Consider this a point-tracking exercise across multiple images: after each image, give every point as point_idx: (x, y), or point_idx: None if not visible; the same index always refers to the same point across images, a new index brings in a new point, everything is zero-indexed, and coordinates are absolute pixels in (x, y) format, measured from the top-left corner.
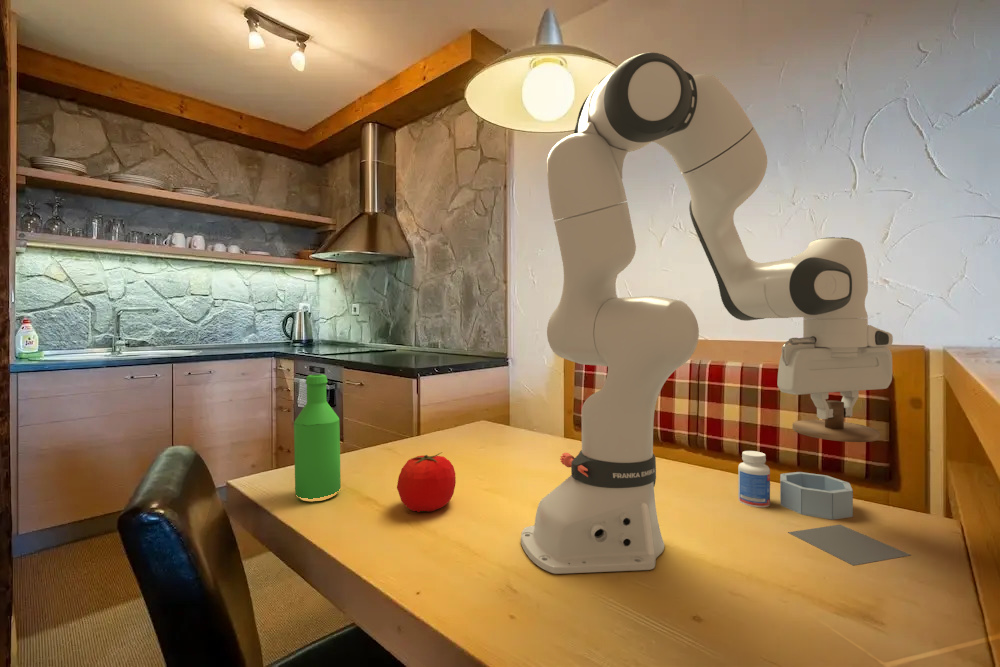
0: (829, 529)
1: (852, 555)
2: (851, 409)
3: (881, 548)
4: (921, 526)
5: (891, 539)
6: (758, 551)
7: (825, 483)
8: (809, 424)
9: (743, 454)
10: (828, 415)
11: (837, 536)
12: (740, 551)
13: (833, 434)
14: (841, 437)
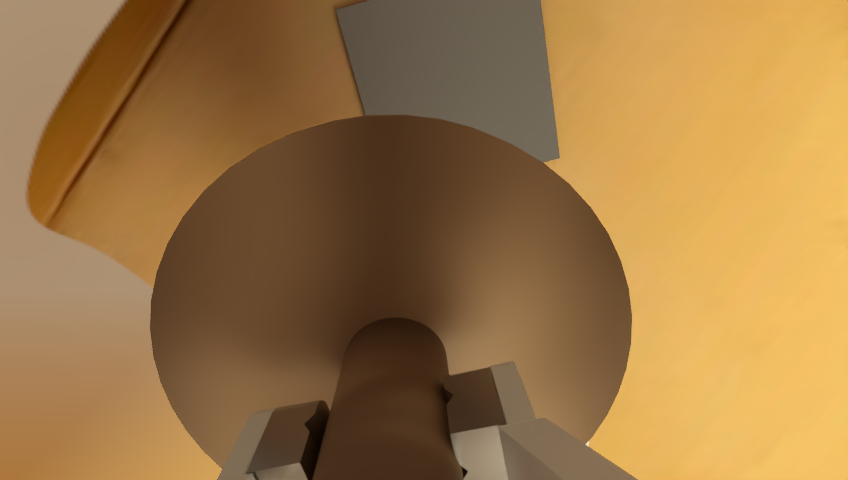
0: None
1: (493, 13)
2: (238, 457)
3: (386, 51)
4: (175, 193)
5: (309, 121)
6: (700, 65)
7: None
8: None
9: (587, 443)
10: (493, 381)
11: None
12: (745, 67)
13: (536, 200)
14: (517, 148)
